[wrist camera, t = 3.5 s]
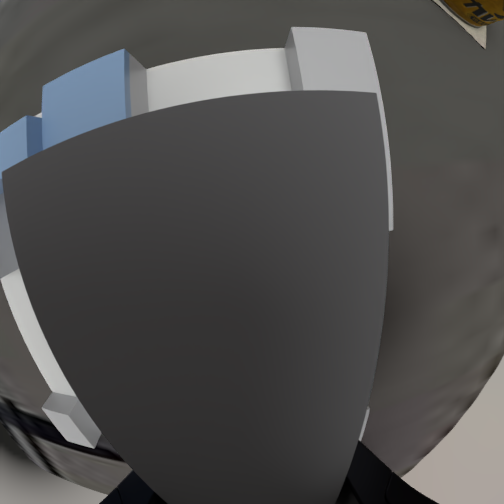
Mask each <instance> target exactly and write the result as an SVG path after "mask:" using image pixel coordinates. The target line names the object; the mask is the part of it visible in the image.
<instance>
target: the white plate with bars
mask: <svg viewBox="0 0 504 504" xmlns="http://www.w3.org/2000/svg"><path fill="white" fill-rule="evenodd" d="M300 90H337V91H359V92H372V93H377V99H378V104H379V110H380V117H381V123H382V131H383V139H384V147H385V157H386V169H387V183H388V205H389V231H391V230H393V194H392V176H391V163H390V152H389V143H388V135H387V127H386V120H385V114H384V108H383V102H382V96H381V91H380V86H379V81H378V77H377V72H376V68H375V64H374V60H373V56H372V52H371V48H370V45H369V41H368V38H367V34H366V33H364V32H357V31H350V30H340V29H329V28H313V27H291V30H290V33H289V36H288V39H287V42H286V45H285V48H272V49H256V50H245V51H235V52H227V53H220V54H213V55H207V56H201V57H196V58H191V59H186V60H181V61H177V62H172V63H168V64H164V65H160V66H157V67H153V68H149V69H145V68H144V67H143V66H142V65H141V64H140V63H139V62H138V61H137V60H136V59H135V58H134V57H133V56H132V55H131V54H130V53H128V52H127V51H126V50H125V49H122V50H119V51H117V52H114V53H111V54H109V55H106V56H104V57H101V58H99V59H96V60H94V61H92V62H89V63H87V64H85V65H83V66H81V67H79V68H76V69H74V70H72V71H70V72H68V73H66V74H64V75H62V76H61V77H59V78H57V79H55V80H53V81H51V82H50V83H48V84H46V85H44V86H43V93H42V112H41V113H40V114H38V115H36V116H34V117H33V116H27V115H26V116H25V117H23V118H22V119H20V120H18V121H17V122H15V123H14V124H12V125H11V126H9V127H8V128H6V129H5V130H3V131H2V132H1V133H0V279H1V282H2V286H3V289H4V291H5V294H6V297H7V300H8V303H9V305H10V308H11V311H12V313H13V316H14V318H15V320H16V323H17V325H18V328H19V330H20V332H21V334H22V336H23V339H24V341H25V343H26V345H27V347H28V349H29V351H30V353H31V355H32V357H33V359H34V361H35V362H36V364H37V366H38V368H39V370H40V372H41V373H42V375H43V377H44V378H45V380H46V382H47V384H48V385H49V387H50V388H51V390H52V394H51V395H50V396H49V398H48V399H47V401H46V402H45V404H44V405H43V406H42V409H43V411H44V412H45V413H46V415H47V416H48V417H49V419H50V420H51V421H52V423H53V424H54V425H55V426H56V428H57V429H58V430H59V431H60V433H61V434H62V435H63V436H64V437H65V439H66V440H67V441H70V442H73V443H76V444H80V445H83V446H87V447H91V448H95V446H96V444H97V442H98V439H99V437H100V435H101V433H102V432H101V431H100V430H99V428H98V427H97V426H96V424H95V423H94V422H93V420H92V419H91V417H90V416H89V414H88V413H87V412H86V410H85V409H84V407H83V406H82V404H81V402H80V401H79V399H78V398H77V396H76V395H75V393H74V391H73V390H72V388H71V386H70V385H69V383H68V381H67V380H66V378H65V376H64V374H63V372H62V371H61V369H60V367H59V365H58V363H57V361H56V359H55V357H54V355H53V353H52V351H51V349H50V347H49V345H48V343H47V341H46V339H45V337H44V335H43V332H42V330H41V328H40V325H39V323H38V321H37V318H36V316H35V313H34V311H33V308H32V305H31V303H30V300H29V297H28V294H27V292H26V289H25V286H24V283H23V279H22V276H21V273H20V269H19V266H18V262H17V259H16V255H15V251H14V247H13V243H12V238H11V234H10V229H9V224H8V218H7V213H6V206H5V199H4V192H3V182H2V172H3V171H4V170H6V169H8V168H10V167H11V166H13V165H15V164H17V163H19V162H21V161H22V160H24V159H26V158H28V157H30V156H32V155H34V154H36V153H38V152H40V151H42V150H45V149H47V148H49V147H51V146H53V145H56V144H58V143H60V142H62V141H65V140H67V139H70V138H72V137H75V136H77V135H80V134H82V133H85V132H87V131H90V130H93V129H96V128H98V127H101V126H104V125H107V124H110V123H113V122H116V121H119V120H123V119H126V118H129V117H133V116H136V115H140V114H144V113H147V112H151V111H155V110H159V109H163V108H167V107H172V106H176V105H181V104H186V103H191V102H196V101H202V100H208V99H214V98H220V97H228V96H235V95H244V94H253V93H264V92H278V91H300ZM369 411H370V408H369V406H368V407H367V411H366V415H365V419H364V423H363V426H362V430H361V433H360V437H359V441H361V439H362V436H363V432H364V429H365V426H366V422H367V419H368V415H369Z"/></svg>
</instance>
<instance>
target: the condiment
mask: <svg viewBox="0 0 504 504" xmlns="http://www.w3.org/2000/svg"><path fill="white" fill-rule="evenodd" d="M433 1H434V2H436V3H437V4H438V5H439V6H440V7H441V8H442V9H444V10H445V11H446V12H447V13H448V14H449V15H450V16H451V17H453V18H454V19H455V20H456V21H457V22H458V23H459V24H460V25H461V26H462V27H463V28H464V29H465V30H466V31H467V32H468V33H469V34H471V35H472V36H473V37H474V39H475V40H476V41H477V42H478V43H479V44H480V45H481V46H482V47H484V48H485V49H486V26H487V25H489V24H491V23H494V22H496V21H500V20H503V19H504V0H433Z"/></svg>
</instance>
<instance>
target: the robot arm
mask: <svg viewBox="0 0 504 504" xmlns="http://www.w3.org/2000/svg"><path fill="white" fill-rule="evenodd" d="M117 487H118V488H117ZM117 487H116V488H115V489H114V490H113V491H112V492H111V493H110V494H109V495H108V496H107V497H106V498H105V499H104V500H103V501H102V502H100V503H99V504H168V503H167V502H165V501H164V500H163V499H162V498H161V497H160V496H159V495H158V494H157V493H156V492H154V491H153V490H152V489H151V488H150V487H149V486H148V485H147V484H146V483H145V482H144V481H143V480H142V479H141V478H140V477H139V476H138V475H137V474H136V473H135V472H134V470H132V471H131V472H130V473H129V474H128V475H127V476H126V477H125V478H124V480H123V481H122V482H121V483H120V484H119V485H118V486H117ZM335 504H439V503H437V502H435V501H433V500H431V499H430V498H428V497H426V496H425V495H423V494H421V493H420V492H418V491H417V490H415V489H414V488H412V487H411V486H410V485H408V484H407V483H406V482H405V481H403V480H402V479H401V478H400V477H399V476H398V475H396V474H395V473H394V472H392V470H391V469H390V468H388V467H387V466H386V465H385V464H384V463H383V462H382V461H381V460H380V459H379V458H378V457H376V456H375V455H374V454H373V453H372V452H371V451H370V450H369V449H368V448H367V447H366V446H365V445H364V444H363V443H362V442H361V441H359V440H358V443H357V446H356V450H355V453H354V456H353V459H352V462H351V464H350V467H349V470H348V473H347V475H346V478H345V481H344V483H343V486H342V488H341V491H340V493H339V496H338V498H337V500H336V503H335Z"/></svg>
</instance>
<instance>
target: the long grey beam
mask: <svg viewBox="0 0 504 504" xmlns="http://www.w3.org/2000/svg"><path fill="white" fill-rule="evenodd" d="M2 182H3V192H4V199H5V206H6V213H7V218H8V224H9V229H10V234H11V238H12V243H13V247H14V251H15V255H16V259H17V262H18V266H19V269H20V273H21V276H22V279H23V283H24V286H25V289H26V292H27V294H28V297H29V300H30V303H31V305H32V308H33V311H34V313H35V316H36V318H37V321H38V323H39V325H40V328H41V330H42V332H43V335H44V337H45V339H46V341H47V343H48V345H49V347H50V349H51V351H52V353H53V355H54V357H55V359H56V361H57V363H58V365H59V367H60V369H61V371H62V372H63V374H64V376H65V378H66V380H67V381H68V383H69V385H70V386H71V388H72V390H73V391H74V393H75V395H76V396H77V398H78V399H79V401H80V402H81V404H82V406H83V407H84V409H85V410H86V412H87V413H88V414H89V416H90V417H91V419H92V420H93V422H94V423H95V424H96V426H97V427H98V428H99V430H100V431H101V432H102V434H103V435H104V436H105V438H106V439H107V440H108V441H109V443H110V444H111V445H112V446H113V448H114V449H115V450H116V451H117V452H118V454H119V455H120V456H121V457H122V458H123V459H124V461H125V462H126V463H127V464H128V465H129V466H130V467H131V468H132V469H133V470H134V472H135V473H136V474H137V475H138V476H139V477H140V478H141V479H142V480H143V481H144V482H145V483H146V484H147V485H148V486H149V487H150V488H151V489H152V490H153V491H154V492H156V493H157V494H158V495H159V496H160V497H161V498H162V499H163V500H164V501H165V502H167V503H168V504H335V503H336V500H337V498H338V496H339V493H340V491H341V488H342V486H343V483H344V481H345V478H346V475H347V473H348V470H349V467H350V464H351V462H352V459H353V456H354V453H355V450H356V446H357V443H358V440H359V437H360V433H361V430H362V426H363V423H364V419H365V415H366V411H367V407H368V403H369V399H370V395H371V390H372V386H373V381H374V376H375V371H376V366H377V360H378V354H379V348H380V341H381V335H382V327H383V319H384V310H385V300H386V289H387V274H388V252H389V205H388V183H387V169H386V157H385V147H384V139H383V131H382V123H381V117H380V110H379V104H378V99H377V93H372V92H359V91H337V90H300V91H278V92H264V93H253V94H244V95H235V96H228V97H220V98H214V99H208V100H202V101H196V102H191V103H186V104H181V105H176V106H172V107H167V108H163V109H159V110H155V111H151V112H147V113H144V114H140V115H136V116H133V117H129V118H126V119H123V120H119V121H116V122H113V123H110V124H107V125H104V126H101V127H98V128H96V129H93V130H90V131H87V132H85V133H82V134H80V135H77V136H75V137H72V138H70V139H67V140H65V141H62V142H60V143H58V144H56V145H53V146H51V147H49V148H47V149H45V150H42V151H40V152H38V153H36V154H34V155H32V156H30V157H28V158H26V159H24V160H22V161H21V162H19V163H17V164H15V165H13V166H11V167H10V168H8V169H6V170H4V171H3V172H2Z"/></svg>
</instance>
